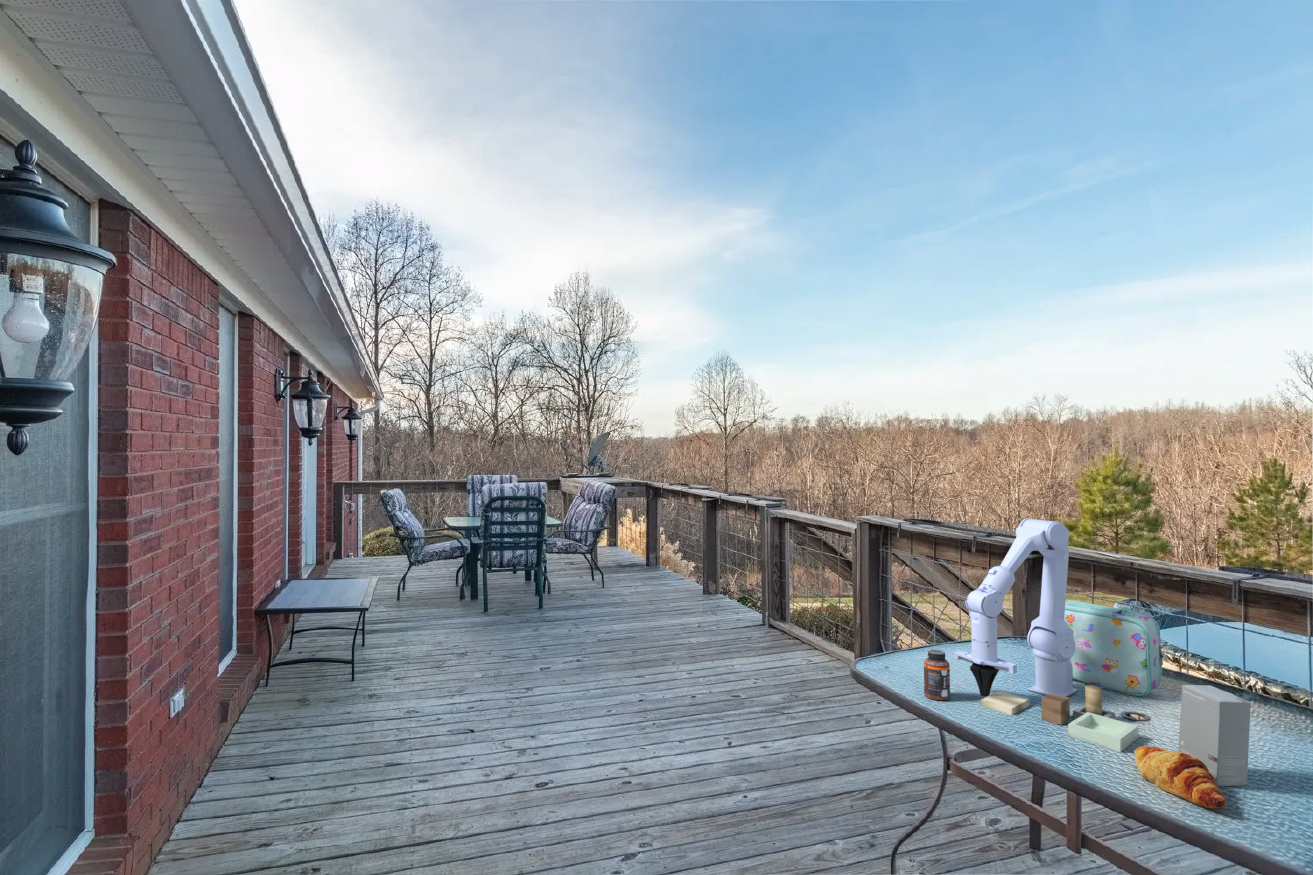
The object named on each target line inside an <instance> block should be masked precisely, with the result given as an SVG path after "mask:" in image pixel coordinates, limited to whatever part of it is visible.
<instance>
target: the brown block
mask: <svg viewBox="0 0 1313 875" xmlns="http://www.w3.org/2000/svg"><path fill="white" fill-rule="evenodd" d="M1040 698H1041V700H1040V701H1041V702H1040V703H1041V706H1040V707H1041V708H1040V709H1041V712H1040V713H1041V721H1044V720H1045V722H1048V723H1050V722H1051V723H1050V724H1054V725H1057V724H1060V725H1059V726H1063V725H1065V724H1067V723H1068V722H1069V721H1071V717H1070V716H1071V712H1070V711H1071V710H1070V709H1071V708H1070V705H1071V703H1070V697H1069V696H1067V697H1064V696H1060V695H1056V694H1052V693H1049V694H1047V695H1046V694H1044V695H1043V696H1041V697H1040ZM1062 724H1063V725H1062Z"/></svg>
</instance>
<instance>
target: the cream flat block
mask: <svg viewBox="0 0 1313 875" xmlns="http://www.w3.org/2000/svg"><path fill="white" fill-rule="evenodd" d="M1030 705H1031V698H1028V697H1025V696H1022V695H1021V696H1020V695H1018V694H1013V693H1010V692H1006V691H1002V690H998V691H997V692H994V693H992V694H990V695H989V696H987V697H984V698H981V700H980V706H981V707H983V708H986V709H991V710H993V711H996V712H999V713H1003V714H1007V715H1009V716H1013V715H1015V714H1017V713H1018V712H1020V711H1023V710H1024V709H1026V708H1027V707H1029V706H1030Z"/></svg>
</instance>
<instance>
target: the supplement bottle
mask: <svg viewBox="0 0 1313 875" xmlns="http://www.w3.org/2000/svg"><path fill="white" fill-rule="evenodd" d="M927 656H928V657H927V658H925V659H923V660H924V661H923V692H924V693H923V694H924V696H925V697H927V698H928V699H931V700H935V701H942V702H943V701H947V700H949V699H950V697H951V688H950V687H951V680H950V679H951V678H950V674H951V673H950V671H951V670H950V668H951V667H950V662H949V661H948V660H947V659H946V652H945V651H944V650H940V649H929V650H927Z"/></svg>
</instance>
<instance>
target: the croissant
mask: <svg viewBox="0 0 1313 875" xmlns="http://www.w3.org/2000/svg"><path fill="white" fill-rule="evenodd" d="M1133 753H1134V757H1135V759H1134V761H1135V765H1136V767H1137V769H1138V771H1139V772H1140V773H1141V775H1142V779H1144V780H1147V781H1148V782H1149V783H1153V784H1154V786H1156V787H1157V788H1158V789H1160V790H1163V791H1164V792H1166V793H1167V792H1168V793H1170V794H1172V795H1174V796H1177V797H1180V798H1183V799H1184V800H1185V801H1188V802H1190V803H1192V804H1196V805H1198V806H1201V807H1203V808H1207V809H1222V808H1225V807H1226V803H1227V799H1226V798H1225V797H1224V796H1223V795H1224V794H1223V792H1222V790H1221V789H1220V788H1219V786H1216V782H1215V778H1214V777H1213V776H1212V774H1210V773H1209V770H1208V768H1207V767H1206V765H1205V764H1204V763H1203V762H1202V761H1201V760H1200V759H1198V758H1197V757H1194V756H1192V755H1190V754H1187V753H1183V752H1178V750H1170V749H1168V748H1167V749H1166V748H1163V747H1159V746H1149V745H1141V746H1139V747H1137V748H1136V749H1135V750H1134V751H1133Z"/></svg>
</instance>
